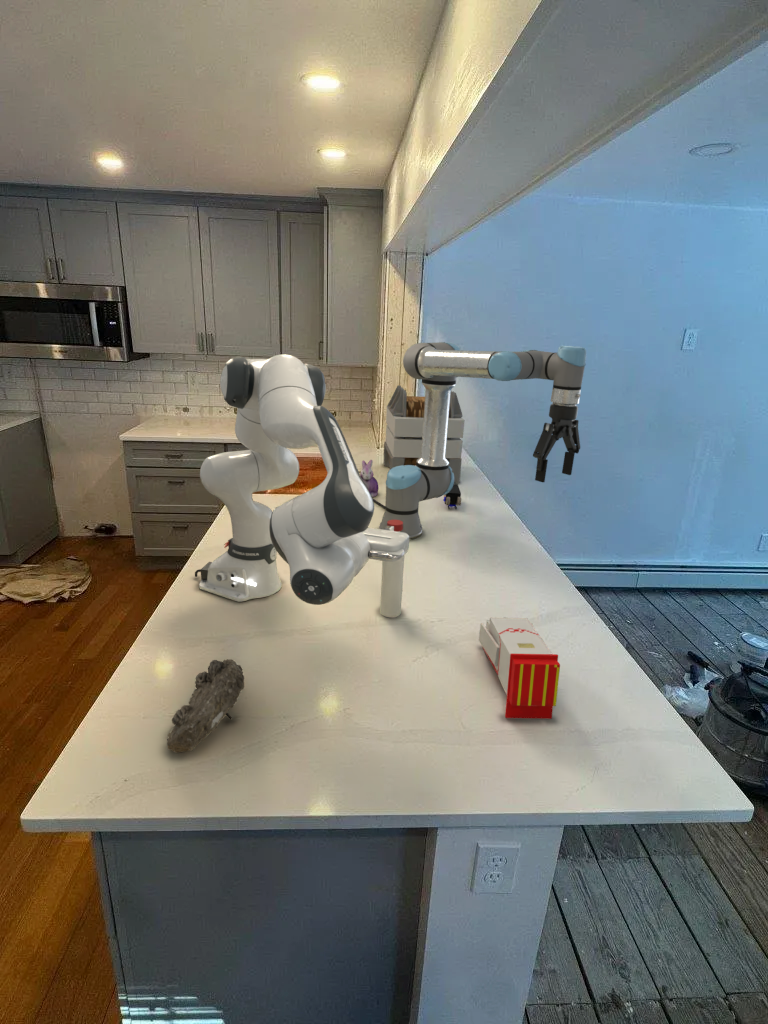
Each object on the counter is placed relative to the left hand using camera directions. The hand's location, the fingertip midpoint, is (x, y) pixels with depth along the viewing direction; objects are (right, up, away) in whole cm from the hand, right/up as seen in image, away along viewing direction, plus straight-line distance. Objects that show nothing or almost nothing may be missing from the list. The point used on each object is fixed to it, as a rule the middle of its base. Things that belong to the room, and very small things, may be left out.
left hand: (368, 526), depth 117 cm
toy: (+31, -33, +7) cm, 46 cm away
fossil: (-30, -36, -9) cm, 48 cm away
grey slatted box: (+20, +22, +158) cm, 160 cm away
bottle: (+5, -23, +31) cm, 39 cm away
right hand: (+52, +13, +47) cm, 72 cm away
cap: (+6, 0, +22) cm, 23 cm away
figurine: (-3, +10, +122) cm, 123 cm away
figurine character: (+31, +6, +114) cm, 118 cm away
